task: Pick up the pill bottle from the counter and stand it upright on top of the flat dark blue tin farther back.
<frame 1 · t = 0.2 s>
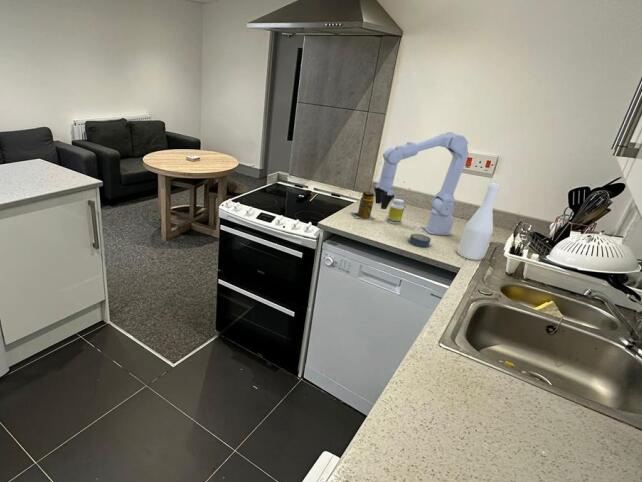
hand: (380, 206, 176), 10 cm above the worktop, tool pointing down, fingers open, 7 cm apart
condiment: (361, 216, 193), on the worktop
tin: (418, 243, 165), on the worktop
pill bottle: (393, 222, 188), on the worktop
wine bottle: (469, 256, 158), on the worktop
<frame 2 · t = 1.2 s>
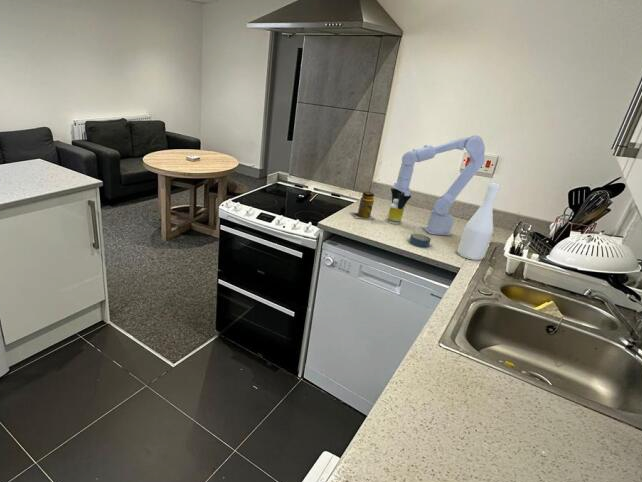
hand: (397, 206, 185), 8 cm above the worktop, tool pointing down, fingers open, 7 cm apart
nothing on the worktop moved.
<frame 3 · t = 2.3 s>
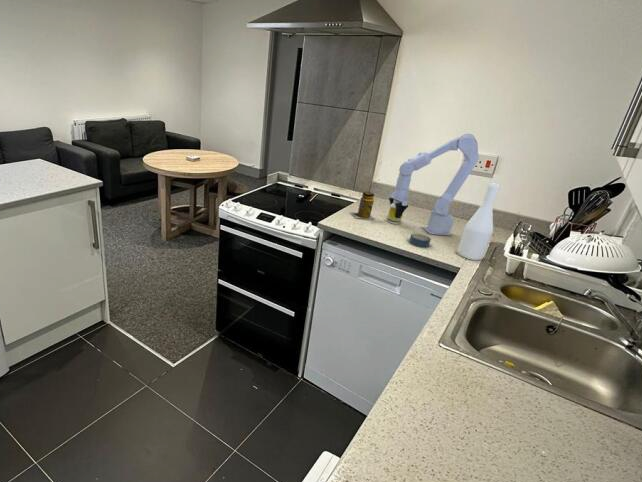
hand: (395, 215, 187), 3 cm above the worktop, tool pointing down, fingers closed on pill bottle, 6 cm apart
pill bottle: (393, 222, 188), on the worktop, touching gripper
everything else where it was.
when the fingers open (6 cm above the worktop, at t = 7.8 s): pill bottle stays where it is, resting on tin.
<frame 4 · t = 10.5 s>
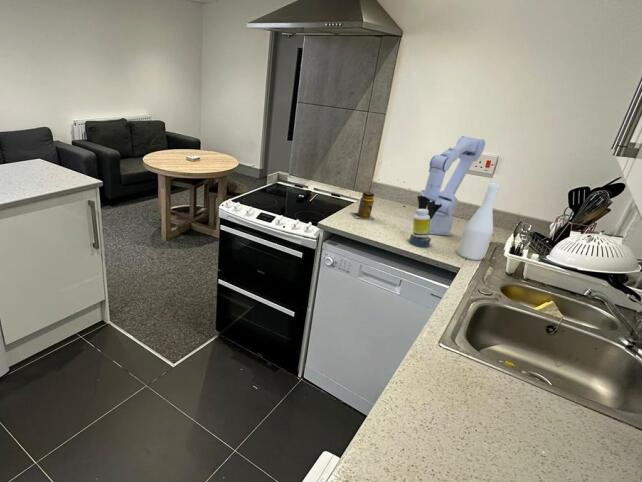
hand: (424, 215, 167), 10 cm above the worktop, tool pointing down, fingers open, 7 cm apart
tin: (418, 243, 165), on the worktop, touching pill bottle
pill bottle: (420, 236, 164), point 3 cm above the worktop, touching gripper, tin
everything else where it was.
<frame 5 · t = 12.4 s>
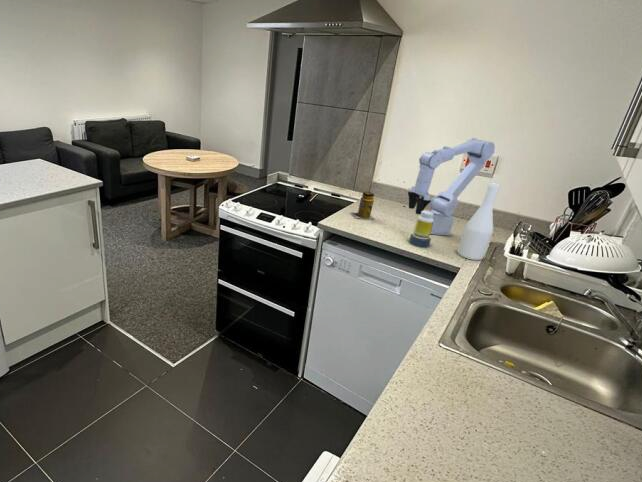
hand: (414, 211, 172), 10 cm above the worktop, tool pointing down, fingers open, 7 cm apart
pill bottle: (420, 237, 164), point 3 cm above the worktop, touching tin
everything else where it was.
at the end: pill bottle 0.1 cm off-centre on the tin, point 2.8 cm above the tin's base; pill bottle tilted 0°; the gripper is holding nothing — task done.
